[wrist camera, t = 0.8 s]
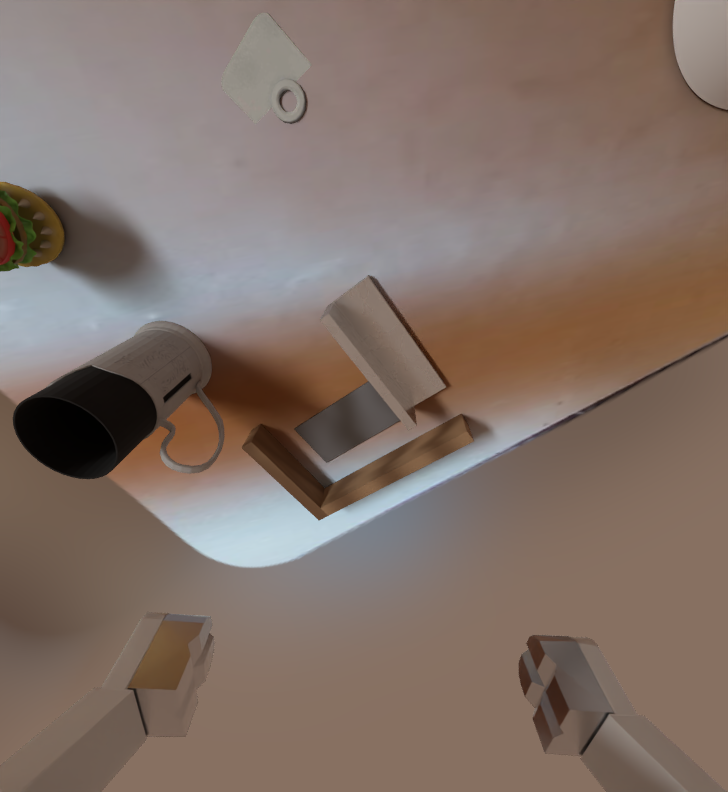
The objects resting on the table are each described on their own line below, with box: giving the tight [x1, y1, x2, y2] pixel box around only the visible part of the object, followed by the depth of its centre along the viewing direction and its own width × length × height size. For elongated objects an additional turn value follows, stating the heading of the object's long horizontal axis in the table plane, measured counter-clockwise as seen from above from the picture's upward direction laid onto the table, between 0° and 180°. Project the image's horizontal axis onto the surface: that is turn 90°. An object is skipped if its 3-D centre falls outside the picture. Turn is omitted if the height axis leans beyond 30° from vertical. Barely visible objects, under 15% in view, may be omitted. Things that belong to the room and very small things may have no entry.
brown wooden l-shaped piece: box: [242, 381, 474, 520], centre depth 41 cm, size 22×14×4 cm, turn 127°
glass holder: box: [13, 321, 224, 479], centre depth 34 cm, size 9×14×15 cm, turn 64°
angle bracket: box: [320, 275, 446, 430], centre depth 36 cm, size 14×5×5 cm, turn 37°
